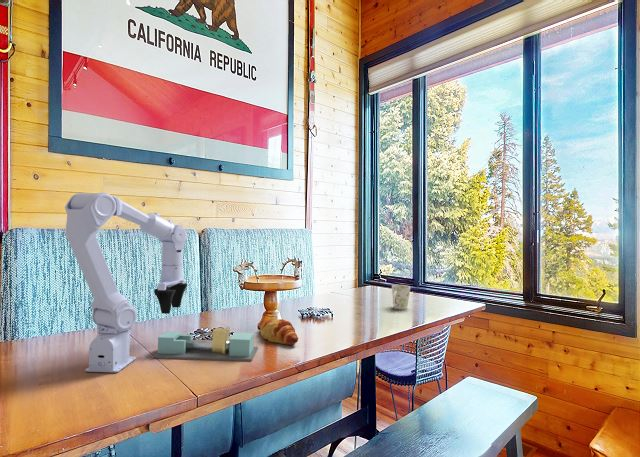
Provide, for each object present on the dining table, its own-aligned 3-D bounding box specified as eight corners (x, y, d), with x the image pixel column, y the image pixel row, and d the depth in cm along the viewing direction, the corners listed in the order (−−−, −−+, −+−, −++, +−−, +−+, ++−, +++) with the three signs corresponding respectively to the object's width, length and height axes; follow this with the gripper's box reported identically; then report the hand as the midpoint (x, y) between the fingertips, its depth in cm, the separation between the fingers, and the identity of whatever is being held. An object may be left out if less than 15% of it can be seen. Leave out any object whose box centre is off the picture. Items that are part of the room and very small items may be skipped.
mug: (412, 307, 171) (412, 286, 171) (402, 313, 160) (403, 289, 160) (394, 305, 175) (395, 284, 175) (384, 310, 164) (385, 287, 164)
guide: (153, 358, 100) (153, 339, 100) (168, 345, 110) (169, 328, 110) (251, 361, 100) (251, 342, 100) (257, 348, 110) (258, 331, 110)
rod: (183, 352, 103) (183, 331, 103) (189, 346, 107) (189, 326, 107) (240, 354, 103) (240, 332, 103) (243, 348, 107) (244, 328, 107)
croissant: (255, 341, 127) (245, 322, 125) (277, 324, 133) (268, 305, 130) (289, 359, 111) (278, 338, 108) (313, 338, 116) (303, 317, 114)
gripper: (175, 268, 104) (174, 316, 104) (193, 262, 118) (192, 305, 118) (150, 267, 104) (149, 315, 104) (171, 261, 118) (170, 304, 118)
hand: (171, 310), depth 111 cm, fingers open, 7 cm apart
